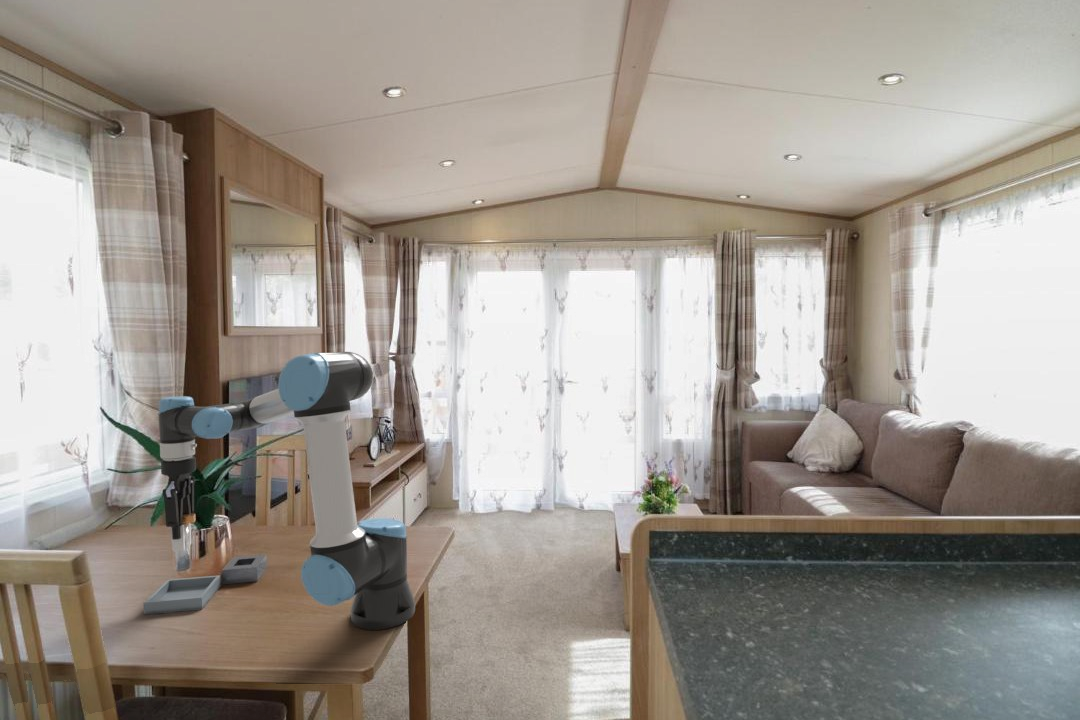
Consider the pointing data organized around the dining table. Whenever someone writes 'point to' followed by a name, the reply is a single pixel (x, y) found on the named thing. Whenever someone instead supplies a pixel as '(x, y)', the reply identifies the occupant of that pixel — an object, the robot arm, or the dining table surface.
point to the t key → (184, 556)
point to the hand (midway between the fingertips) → (181, 547)
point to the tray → (182, 595)
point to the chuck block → (244, 569)
